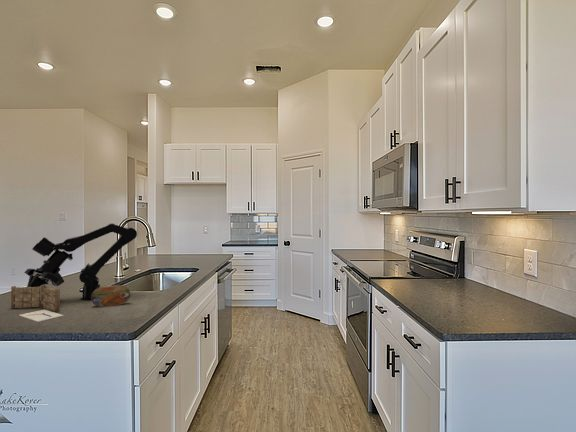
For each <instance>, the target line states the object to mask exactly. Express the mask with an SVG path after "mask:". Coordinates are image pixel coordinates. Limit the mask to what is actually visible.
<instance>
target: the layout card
mask: <svg viewBox="0 0 576 432" xmlns="http://www.w3.org/2000/svg"><path fill="white" fill-rule="evenodd" d="M18 316H20V317H22V318H25V319H28V320H30V321H34V322H37V323H38V322H39V323H40V322H43V321H47V320H51V319H57V318H60V317H64V314H61V313H59V312H55V311H51V310H48V309H41V310H36V311H31V312H27V313H22V314H21V313H20V314H19V315H18Z"/></svg>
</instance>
